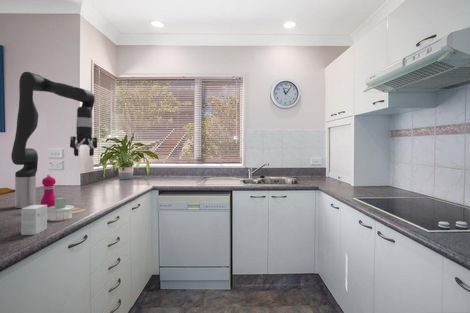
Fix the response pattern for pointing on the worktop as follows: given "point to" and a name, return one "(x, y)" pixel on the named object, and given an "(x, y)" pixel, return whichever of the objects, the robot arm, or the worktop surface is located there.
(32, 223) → the small box
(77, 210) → the plate
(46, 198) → the pepper mill
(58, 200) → the lid
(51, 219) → the bowl
